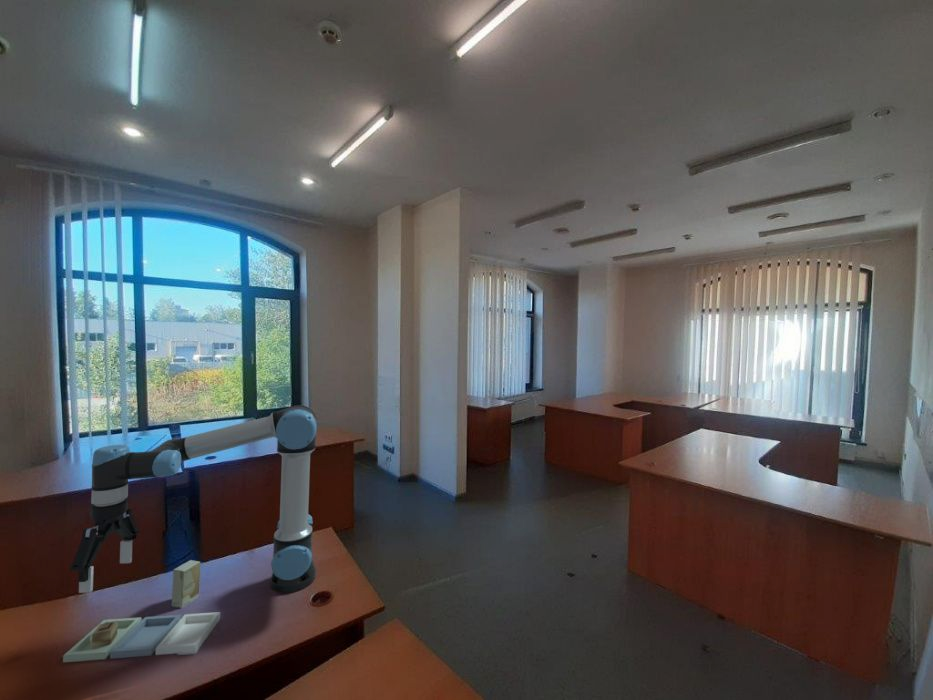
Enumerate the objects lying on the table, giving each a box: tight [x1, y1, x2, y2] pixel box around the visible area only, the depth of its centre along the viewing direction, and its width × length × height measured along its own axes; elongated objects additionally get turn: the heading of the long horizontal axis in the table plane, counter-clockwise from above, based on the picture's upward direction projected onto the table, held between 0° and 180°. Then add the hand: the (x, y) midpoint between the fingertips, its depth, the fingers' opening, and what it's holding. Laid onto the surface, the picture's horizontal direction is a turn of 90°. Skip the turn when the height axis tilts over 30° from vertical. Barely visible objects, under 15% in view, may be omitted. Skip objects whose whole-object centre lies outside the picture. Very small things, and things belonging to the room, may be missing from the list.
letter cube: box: [92, 621, 118, 649], centre depth 104 cm, size 4×4×4 cm
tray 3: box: [155, 611, 221, 656], centre depth 107 cm, size 10×13×2 cm
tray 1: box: [62, 616, 142, 663], centre depth 104 cm, size 10×13×2 cm
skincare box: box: [171, 559, 201, 609], centre depth 122 cm, size 6×4×12 cm
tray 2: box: [109, 614, 182, 660], centre depth 106 cm, size 10×13×2 cm
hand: (107, 576), depth 105 cm, fingers open, 13 cm apart
